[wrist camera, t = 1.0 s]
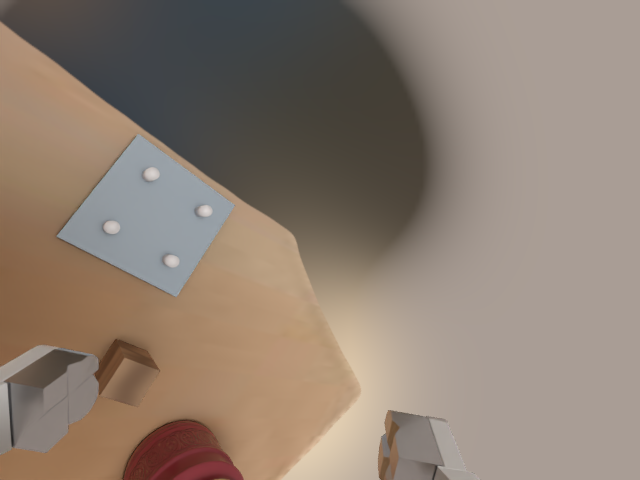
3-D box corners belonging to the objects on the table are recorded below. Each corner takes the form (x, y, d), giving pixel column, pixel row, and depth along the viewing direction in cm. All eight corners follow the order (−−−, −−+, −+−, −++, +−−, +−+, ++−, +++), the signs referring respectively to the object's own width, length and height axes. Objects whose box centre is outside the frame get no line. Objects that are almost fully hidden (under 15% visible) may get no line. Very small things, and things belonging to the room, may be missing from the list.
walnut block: (94, 371, 45) (99, 396, 38) (116, 338, 46) (124, 357, 39) (127, 382, 47) (137, 407, 40) (147, 351, 48) (160, 370, 42)
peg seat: (56, 236, 42) (55, 237, 38) (136, 136, 46) (142, 128, 43) (173, 295, 50) (182, 300, 46) (231, 205, 55) (243, 204, 51)
